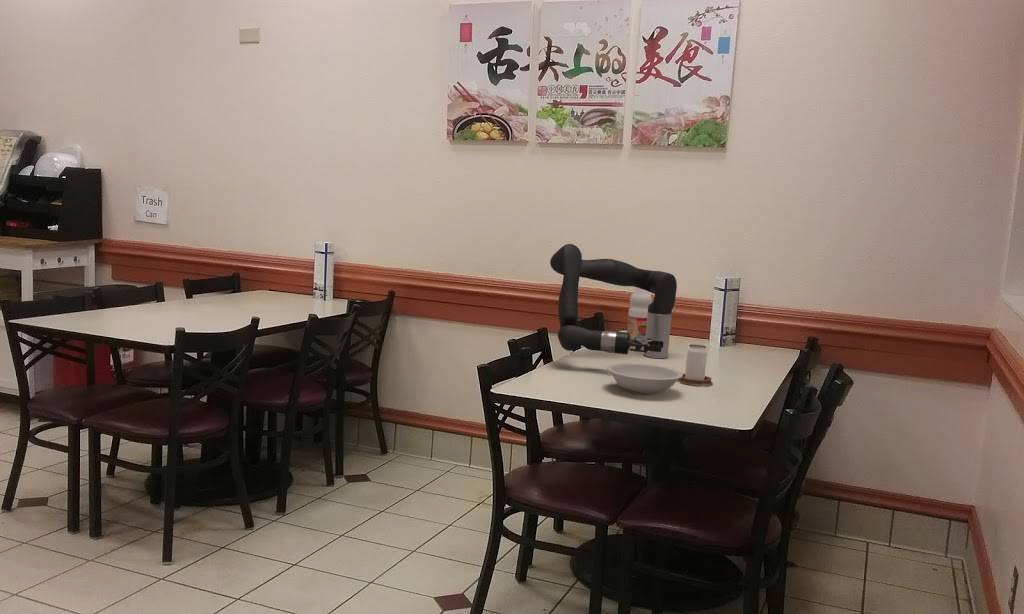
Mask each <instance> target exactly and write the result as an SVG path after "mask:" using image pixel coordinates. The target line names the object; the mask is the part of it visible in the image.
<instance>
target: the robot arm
mask: <svg viewBox="0 0 1024 614" xmlns="http://www.w3.org/2000/svg"><path fill="white" fill-rule="evenodd" d="M549 263H550V267H551V269H552V270H553V271H554V272H556V273H557V274H559V275H562V276H563V277H562V284H561V288H560V292H559V296H558V301H557V302H558V304H557V305H558V306H557V307H558V308H557V309H558V320H559V321H558V322H559V327H560V328H559V330H558V331H557V338H558V341H559V345H560V346H561V348H563V350H565V351H568V352H572V351H574V350H576V349H577V348H578V346H582V347H584V348H585V349H586V350H588V351H589V350H590V351H595V352H596V351H597V352H604V353H611V354H620V355H628V354H629V352H638V353H639V352H640V353H643V356H644V355H645V357H649V358H652V359H653V358H654V359H667V358H668V356H669V347H670V346H669V345H670V338H671V337H670V335H671V324H672V313H673V312H672V311H673V309H674V307H675V303H676V298H677V289H678V286H677V285H678V283H677V278H676V277H675V276H674V274H672V273H669V272H665V271H661V270H651V269H650V270H649V269H643V268H639V267H637V266H634V265H632V264H630V263H627V262H624V261H621V260H616V259H612V258H596V259H583V255H582V252H581V250H580V248H579V247H578V246H576V245H575V244H573V243H567V244H564V245H562V247H560V248H559V249H558V250H557V251H556V252H554V253H553V255H552V256H551V258H550V260H549ZM580 278H584V279H588V280H592V281H593V280H594V281H597V282H602V283H606V284H610V285H613V286H619V287H635V288H636V287H637V288H640V289H643V290H646V291H648V292H649V293H651V294H652V295H654V299H653V300H652V303H651V304H650V305H649V306H648V314H647V326H646V337H645V338H637V337H635V338H634V339H630V334H629V333H627V331H626V332H624V331H616V330H615V331H613V330H596V329H595V330H594V329H588V328H585V327H580V326H579V302H578V301H579V299H578V297H579V283H580Z"/></svg>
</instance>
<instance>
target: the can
mask: <svg viewBox="0 0 1024 614" xmlns="http://www.w3.org/2000/svg"><path fill="white" fill-rule="evenodd" d="M686 353H687V354H686V360H685V361H686V363H685V373H684V374H685V378H687V379H692V380H704V378H705V376H706V366H707V365H706V364H707V356H708V351H707V346H705V345H702V344H694V343H693V344H689V345H688V348H687V352H686Z"/></svg>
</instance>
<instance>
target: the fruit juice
mask: <svg viewBox="0 0 1024 614" xmlns="http://www.w3.org/2000/svg"><path fill="white" fill-rule="evenodd" d="M652 303H653V298H652V295H651V294H650V292H648V291H646V290H643V289H640V288H637V287H635V288H634V291H633V292H632V293H631V295H630V297H629V304H630V306H629V309H628V312H627V313H628V314H627V324H626V326H627V327H626V333H629V334H630V339H634V338H635V337H637V338H645V337H646V326H647V314H648V306H649V305H650V304H652Z"/></svg>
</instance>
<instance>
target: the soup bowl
mask: <svg viewBox="0 0 1024 614" xmlns="http://www.w3.org/2000/svg"><path fill="white" fill-rule="evenodd" d="M606 370H607V371H608V372H609V373H611V376H612V378H613V379H614V380H615V382H617V384H618V385H620V387H623V389H626V390H629V391H633V392H638V393H644V394H645V393H650V394H652V393H660V392H664V391H666V390H668V389H670V388H671V387H673V386H674V385H675V383H677V379H680V378H682V377H683V374H684V373H683V372H681V371H680V370H677V369H674V368H671V367H667V366H664V365H658V364H651V363H644V362H643V363H642V362H641V363H640V362H639V363H638V362H619V363H613V364H609V365H607V366H606Z"/></svg>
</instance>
